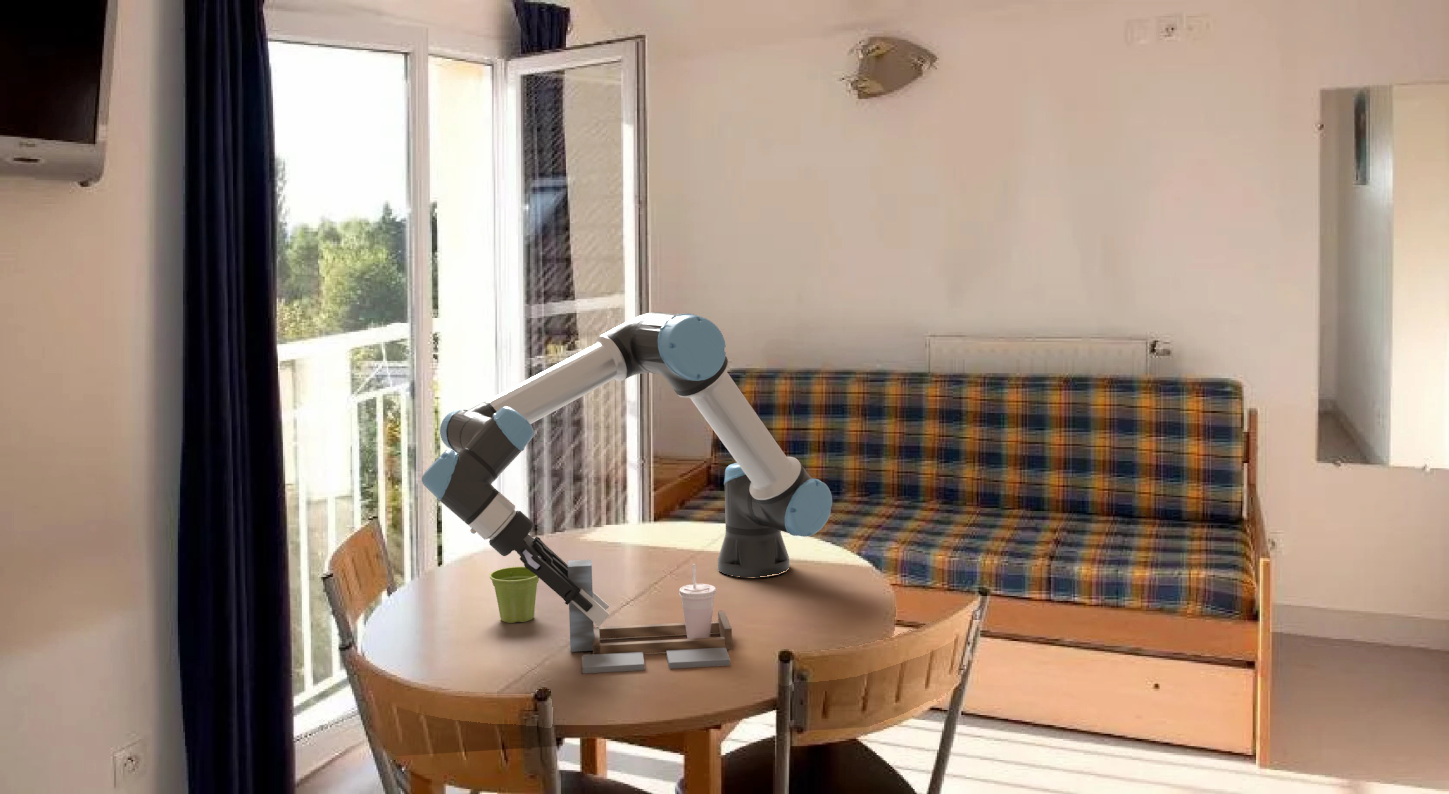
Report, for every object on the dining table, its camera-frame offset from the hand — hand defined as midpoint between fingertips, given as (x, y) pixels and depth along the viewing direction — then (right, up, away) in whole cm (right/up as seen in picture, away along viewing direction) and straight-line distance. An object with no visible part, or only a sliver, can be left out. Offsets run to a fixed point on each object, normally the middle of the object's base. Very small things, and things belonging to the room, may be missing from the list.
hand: (603, 615), depth 209 cm
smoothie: (+16, -5, +3) cm, 17 cm away
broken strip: (+9, -7, -7) cm, 13 cm away
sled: (+8, -5, +2) cm, 10 cm away
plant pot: (-18, -4, +18) cm, 25 cm away
